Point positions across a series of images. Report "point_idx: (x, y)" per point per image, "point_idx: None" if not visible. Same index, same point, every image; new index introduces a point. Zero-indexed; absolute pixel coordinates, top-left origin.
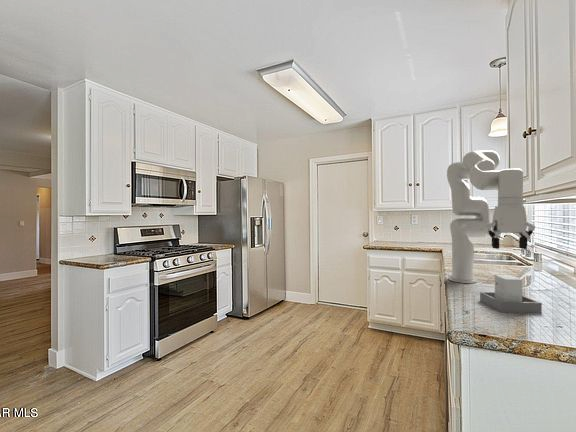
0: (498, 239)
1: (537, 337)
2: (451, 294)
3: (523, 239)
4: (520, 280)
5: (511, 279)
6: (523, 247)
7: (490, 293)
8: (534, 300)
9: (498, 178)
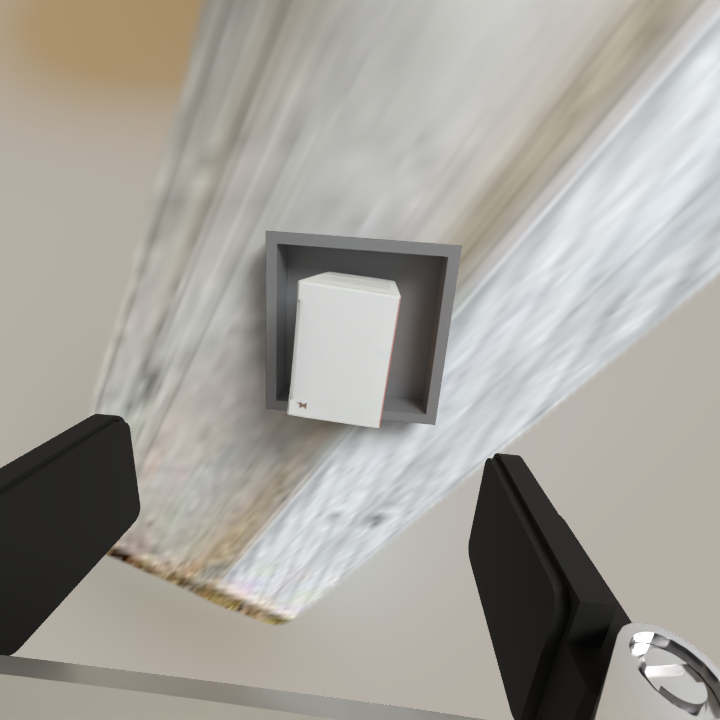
0: (6, 647)
1: (252, 575)
2: (184, 96)
3: (513, 676)
4: (369, 426)
5: (319, 419)
6: (475, 541)
7: (315, 246)
8: (434, 390)
9: None
